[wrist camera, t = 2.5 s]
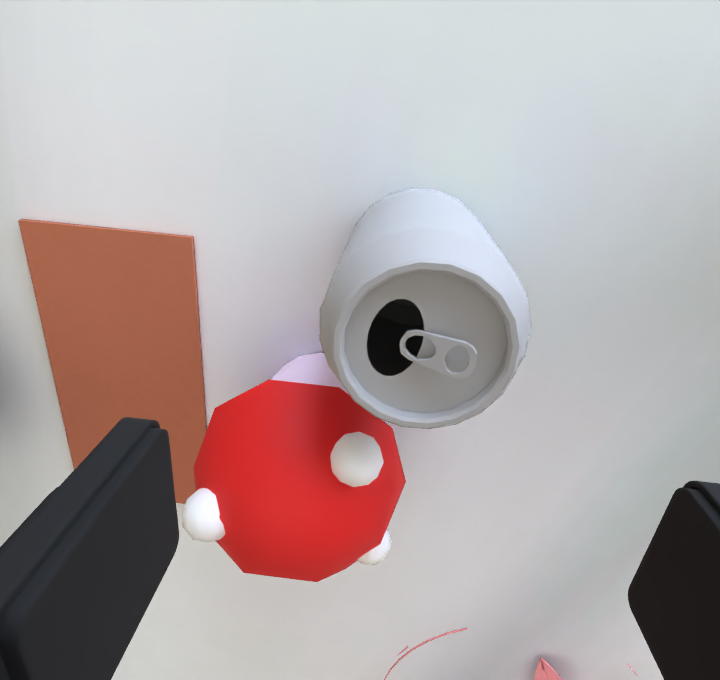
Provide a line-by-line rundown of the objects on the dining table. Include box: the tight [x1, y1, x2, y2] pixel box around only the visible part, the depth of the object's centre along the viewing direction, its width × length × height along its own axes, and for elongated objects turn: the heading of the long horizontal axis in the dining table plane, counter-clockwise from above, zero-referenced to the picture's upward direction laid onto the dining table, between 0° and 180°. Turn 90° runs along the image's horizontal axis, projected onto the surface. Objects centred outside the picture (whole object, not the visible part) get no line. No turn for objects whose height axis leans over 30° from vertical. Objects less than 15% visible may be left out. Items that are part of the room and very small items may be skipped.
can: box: [320, 188, 531, 429], centre depth 21 cm, size 8×8×12 cm
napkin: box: [19, 219, 207, 504], centre depth 31 cm, size 10×20×1 cm, turn 175°
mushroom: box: [182, 353, 406, 582], centre depth 25 cm, size 11×11×12 cm
